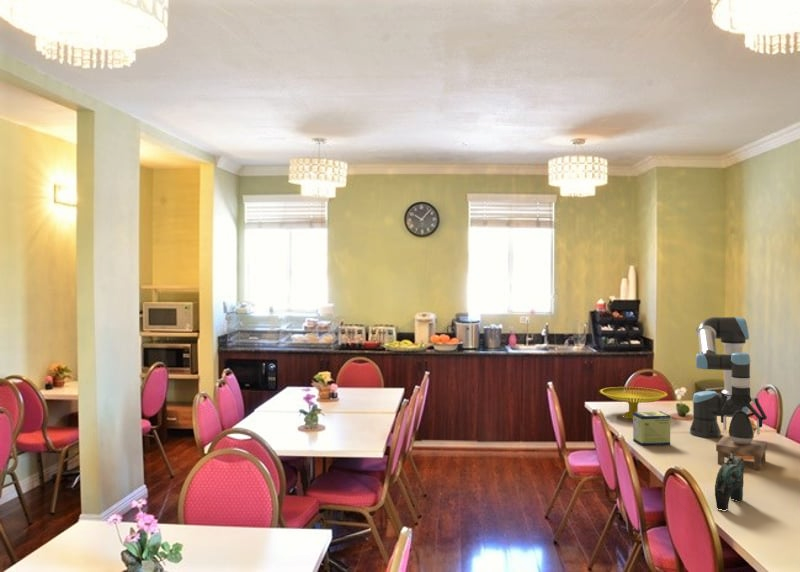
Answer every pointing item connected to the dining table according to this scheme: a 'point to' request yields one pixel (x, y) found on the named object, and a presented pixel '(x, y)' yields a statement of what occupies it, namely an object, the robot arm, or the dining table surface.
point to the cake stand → (633, 397)
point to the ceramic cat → (729, 481)
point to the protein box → (651, 428)
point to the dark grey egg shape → (741, 428)
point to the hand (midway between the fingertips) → (741, 432)
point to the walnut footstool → (742, 450)
